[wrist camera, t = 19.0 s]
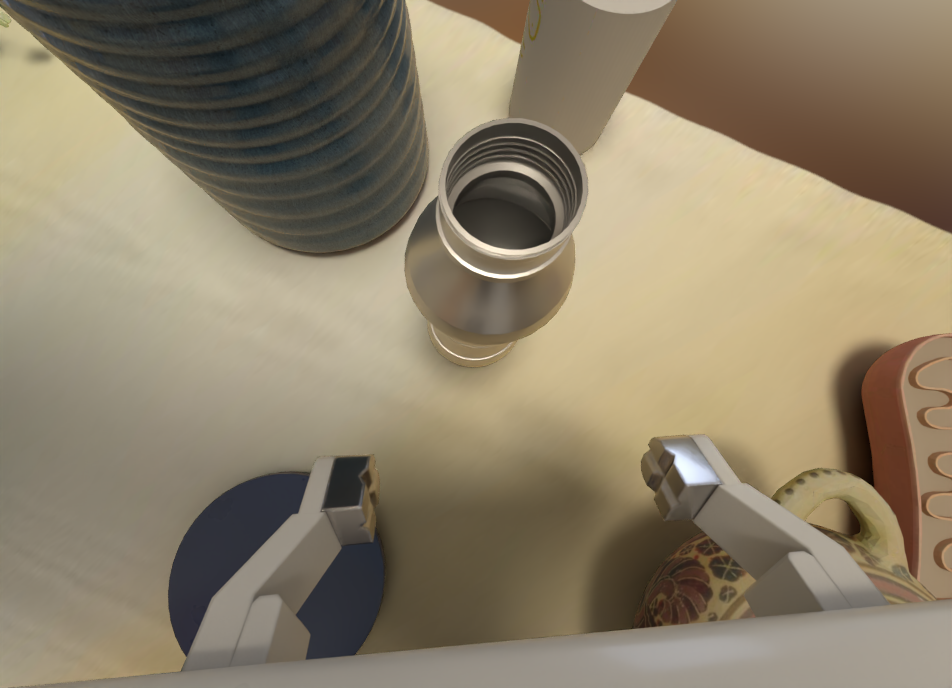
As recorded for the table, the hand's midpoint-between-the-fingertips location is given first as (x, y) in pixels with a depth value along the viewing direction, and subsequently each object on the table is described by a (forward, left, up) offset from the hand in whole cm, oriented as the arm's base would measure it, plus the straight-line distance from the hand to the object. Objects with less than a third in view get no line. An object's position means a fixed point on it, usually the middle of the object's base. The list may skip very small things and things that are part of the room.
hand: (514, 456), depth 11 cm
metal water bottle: (0, +7, -17) cm, 19 cm away
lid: (-14, -10, -16) cm, 24 cm away
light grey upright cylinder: (+8, +25, -17) cm, 31 cm away
